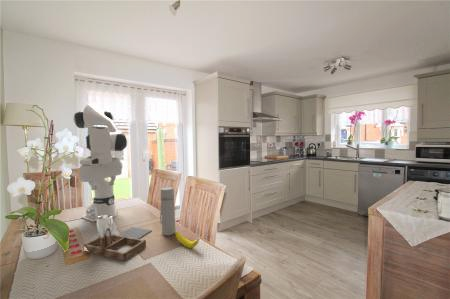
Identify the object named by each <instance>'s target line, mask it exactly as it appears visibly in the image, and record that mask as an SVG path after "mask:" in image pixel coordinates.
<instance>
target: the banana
mask: <svg viewBox="0 0 450 299" xmlns="http://www.w3.org/2000/svg"><path fill="white" fill-rule="evenodd" d="M174 234H175V236H176V239H177V240H178V241H179V243H181V244H182V245H183V246H185V248H188V249H193V248H195V247H196V246H197V245H198V244H199V241H200V239H196V240H194V241H192V240H189V239H188V238H186V237H185V236H183V235H182V234H181V233H179V232H178V231H176V230H175V233H174Z"/></svg>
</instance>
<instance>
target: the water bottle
mask: <svg viewBox="0 0 450 299" xmlns="http://www.w3.org/2000/svg"><path fill="white" fill-rule="evenodd" d="M159 200H160V215H159V216H160V217H159V221H160V224H161V230H162V231H161V232H162V233H161V234H162V235H163V236H166V237H167V236H171V235H174V234H175V231H176V213H175V210H176V209H175V192H174V187H173V186H172V187H171V186H167V187H162V188H160V197H159Z"/></svg>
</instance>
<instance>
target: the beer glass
mask: <svg viewBox="0 0 450 299" xmlns="http://www.w3.org/2000/svg"><path fill="white" fill-rule="evenodd" d="M113 218H114V217H113ZM113 218H112V215H111V214H106V215H101V216H99V217H97V221H96V230H97V235H98V238H99V240H100V244H99V245H98V247H102V248H105V247H107V246H109V245H111V244H112V243H114V241H112V234H113V232H114V220H113Z"/></svg>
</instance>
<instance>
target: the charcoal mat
mask: <svg viewBox="0 0 450 299" xmlns="http://www.w3.org/2000/svg"><path fill="white" fill-rule="evenodd" d="M149 233H152V229H146V228H139V227H134V226H131V227H130V228H127V229H126V230H124V231H122V232H121V233H119V234H117V235H120V236H126V237H131V238H137V239H143V237H144V236H147V235H149Z"/></svg>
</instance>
